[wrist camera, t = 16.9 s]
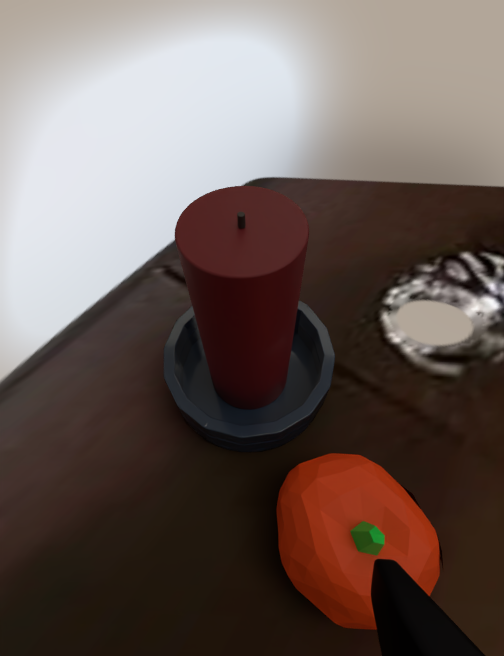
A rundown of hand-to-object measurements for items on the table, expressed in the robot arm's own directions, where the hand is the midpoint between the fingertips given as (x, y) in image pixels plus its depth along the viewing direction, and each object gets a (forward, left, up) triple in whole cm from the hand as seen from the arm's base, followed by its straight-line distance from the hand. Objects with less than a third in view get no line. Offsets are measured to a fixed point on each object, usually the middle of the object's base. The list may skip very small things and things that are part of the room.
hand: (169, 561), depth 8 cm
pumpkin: (-2, -6, -14) cm, 15 cm away
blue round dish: (+9, -7, -14) cm, 18 cm away
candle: (+9, -7, -13) cm, 17 cm away
